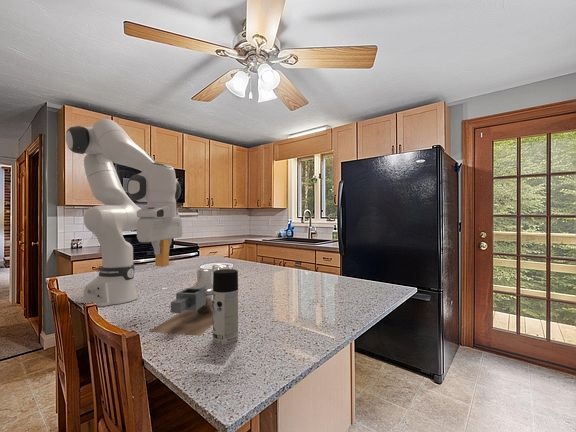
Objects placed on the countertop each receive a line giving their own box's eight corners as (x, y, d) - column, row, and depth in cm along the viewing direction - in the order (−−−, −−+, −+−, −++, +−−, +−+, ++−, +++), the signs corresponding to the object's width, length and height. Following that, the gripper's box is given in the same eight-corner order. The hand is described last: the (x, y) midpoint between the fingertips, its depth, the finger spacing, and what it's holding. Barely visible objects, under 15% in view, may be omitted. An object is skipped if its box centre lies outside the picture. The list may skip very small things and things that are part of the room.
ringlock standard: (158, 330, 86) (158, 281, 86) (197, 305, 109) (197, 266, 109) (193, 333, 84) (193, 282, 84) (225, 307, 107) (225, 267, 107)
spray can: (215, 339, 83) (214, 268, 83) (239, 338, 84) (239, 268, 84) (211, 350, 77) (210, 273, 77) (237, 349, 77) (236, 273, 77)
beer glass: (225, 307, 113) (225, 267, 112) (208, 305, 114) (208, 266, 114) (232, 301, 119) (232, 264, 119) (216, 300, 121) (216, 263, 121)
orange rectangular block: (155, 266, 98) (155, 233, 98) (160, 264, 101) (160, 232, 101) (163, 266, 97) (163, 233, 97) (168, 265, 100) (168, 232, 100)
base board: (148, 336, 86) (148, 331, 86) (193, 308, 111) (193, 304, 111) (200, 340, 83) (200, 335, 83) (233, 310, 108) (233, 306, 108)
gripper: (171, 211, 110) (171, 249, 110) (132, 211, 89) (132, 257, 90) (186, 211, 108) (186, 249, 109) (151, 211, 88) (151, 258, 89)
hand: (161, 253), depth 99 cm, fingers closed on orange rectangular block, 3 cm apart
